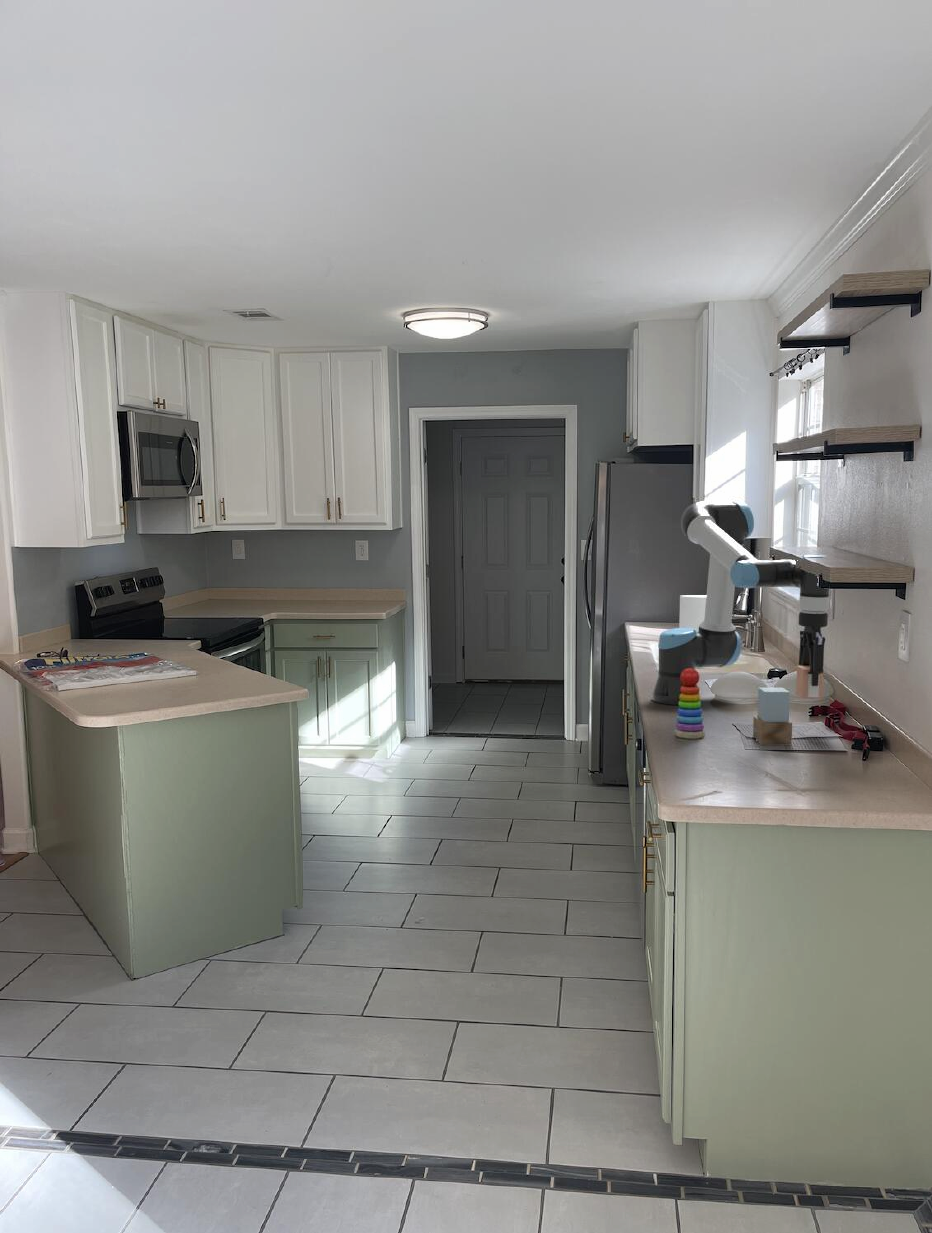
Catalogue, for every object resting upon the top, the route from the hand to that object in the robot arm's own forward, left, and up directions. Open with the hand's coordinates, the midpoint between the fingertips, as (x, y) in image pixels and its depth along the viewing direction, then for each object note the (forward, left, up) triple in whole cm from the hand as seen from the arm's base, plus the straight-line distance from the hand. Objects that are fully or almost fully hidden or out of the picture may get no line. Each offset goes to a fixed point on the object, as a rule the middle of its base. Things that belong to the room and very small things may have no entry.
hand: (809, 694), depth 268 cm
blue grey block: (-13, -10, -5) cm, 17 cm away
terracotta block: (0, 0, 0) cm, 0 cm away
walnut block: (-13, -11, -11) cm, 20 cm away
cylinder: (-4, +119, -11) cm, 120 cm away
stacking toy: (-34, -6, -11) cm, 36 cm away
